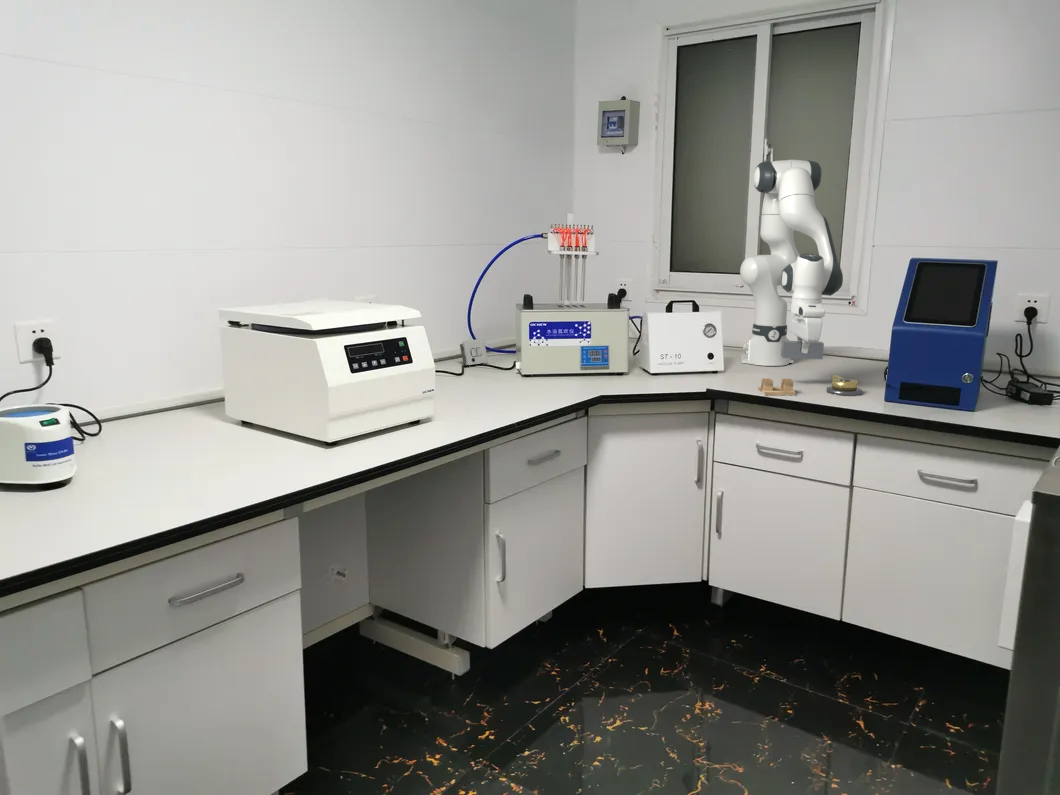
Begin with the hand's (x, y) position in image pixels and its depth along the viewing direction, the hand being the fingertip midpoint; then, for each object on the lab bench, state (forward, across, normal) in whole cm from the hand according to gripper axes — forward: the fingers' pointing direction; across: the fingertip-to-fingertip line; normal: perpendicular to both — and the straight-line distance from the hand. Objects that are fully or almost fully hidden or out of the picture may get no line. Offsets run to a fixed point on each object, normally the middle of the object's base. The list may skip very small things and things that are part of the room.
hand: (801, 351), depth 247 cm
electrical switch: (+13, -33, -107) cm, 112 cm away
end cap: (+11, +1, +32) cm, 34 cm away
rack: (+10, +12, -10) cm, 19 cm away
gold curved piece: (+9, +8, +10) cm, 16 cm away
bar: (+2, 0, 0) cm, 2 cm away
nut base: (+10, +11, +10) cm, 18 cm away
